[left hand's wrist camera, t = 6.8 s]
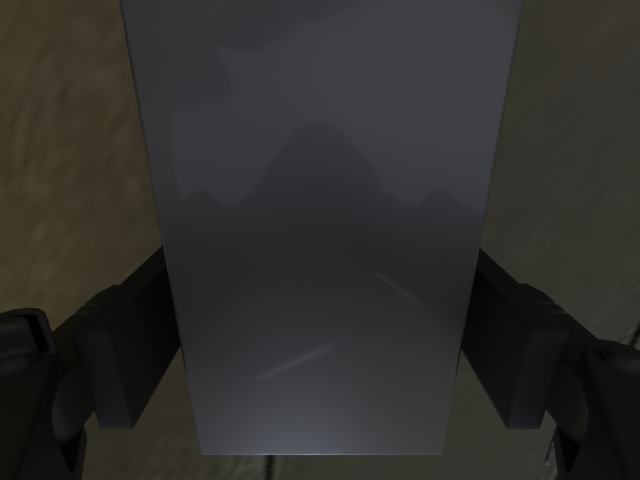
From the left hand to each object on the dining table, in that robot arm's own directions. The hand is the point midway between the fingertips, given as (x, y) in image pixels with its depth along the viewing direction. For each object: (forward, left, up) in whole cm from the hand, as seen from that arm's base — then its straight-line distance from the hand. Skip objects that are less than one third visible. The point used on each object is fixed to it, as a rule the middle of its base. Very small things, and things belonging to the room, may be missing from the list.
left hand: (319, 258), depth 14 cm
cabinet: (0, +5, -5) cm, 8 cm away
